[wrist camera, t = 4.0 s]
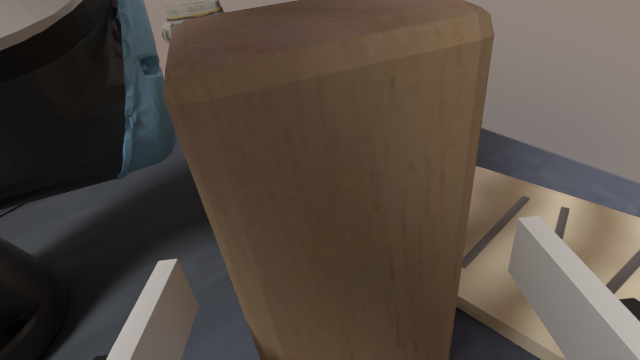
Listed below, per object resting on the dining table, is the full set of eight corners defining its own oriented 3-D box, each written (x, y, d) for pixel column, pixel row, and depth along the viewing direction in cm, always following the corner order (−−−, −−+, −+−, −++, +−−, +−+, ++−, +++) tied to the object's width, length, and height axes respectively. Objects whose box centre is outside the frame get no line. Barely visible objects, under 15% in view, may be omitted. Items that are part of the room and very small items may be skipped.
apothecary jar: (253, 93, 71) (230, -6, 61) (254, 114, 61) (227, -1, 51) (193, 104, 70) (160, 4, 60) (184, 127, 60) (143, 11, 50)
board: (351, 241, 31) (350, 230, 30) (449, 166, 39) (450, 156, 39) (920, 596, 12) (951, 588, 12) (881, 312, 21) (897, 298, 20)
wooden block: (376, 262, 29) (363, -13, 18) (454, 375, 21) (515, -4, 10) (257, 304, 27) (163, 20, 16) (291, 450, 18) (145, 67, 8)
